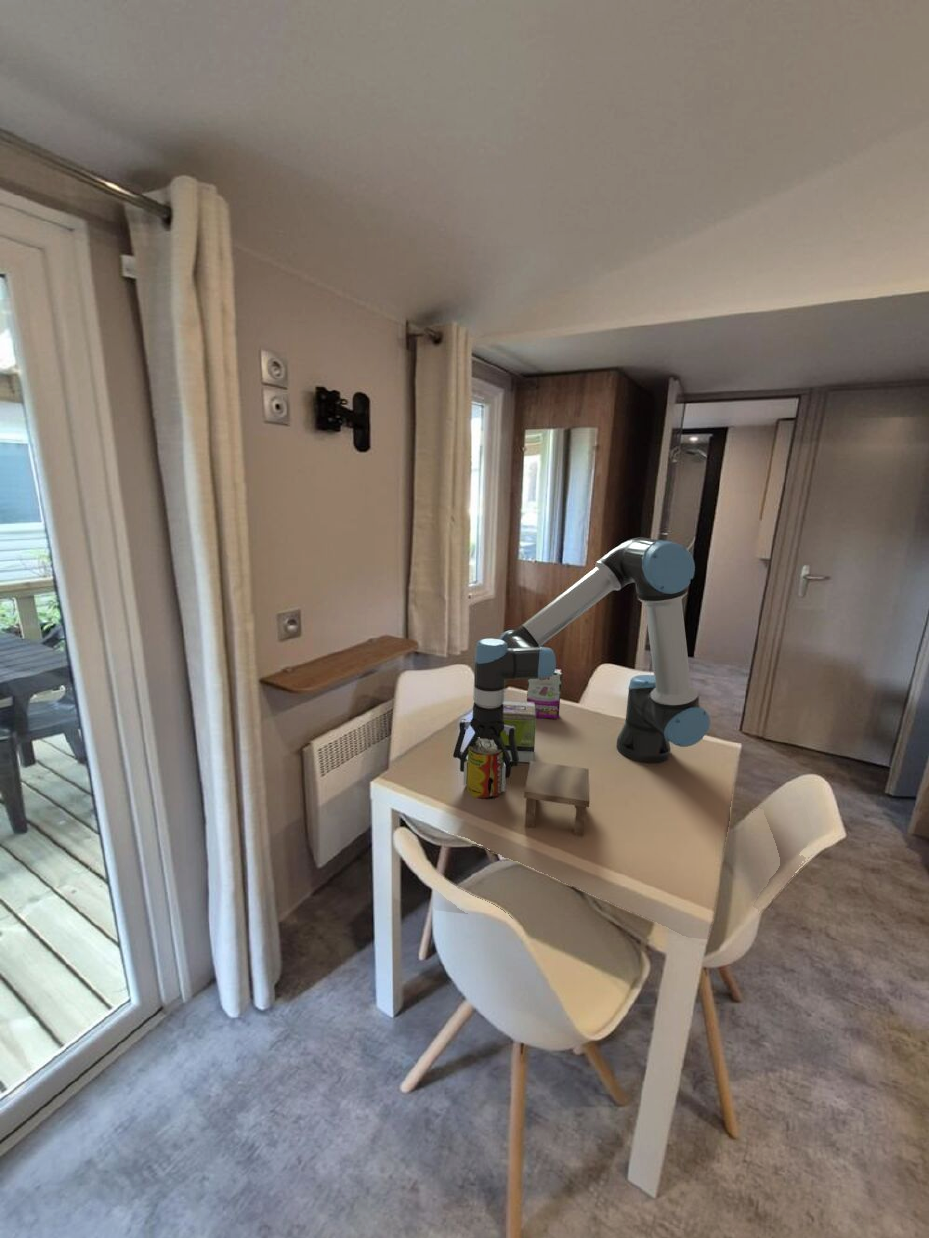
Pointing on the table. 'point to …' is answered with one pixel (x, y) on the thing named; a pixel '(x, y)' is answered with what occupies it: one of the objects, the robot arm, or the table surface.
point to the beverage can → (484, 769)
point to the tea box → (520, 728)
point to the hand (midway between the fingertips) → (484, 785)
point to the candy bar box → (545, 695)
